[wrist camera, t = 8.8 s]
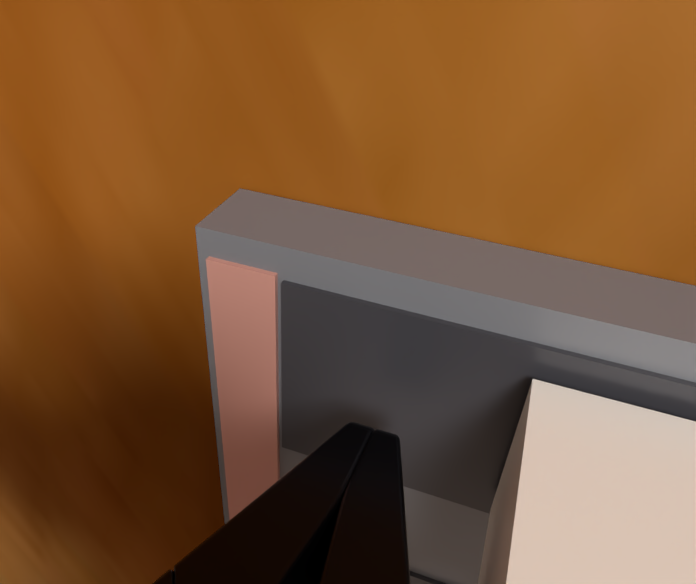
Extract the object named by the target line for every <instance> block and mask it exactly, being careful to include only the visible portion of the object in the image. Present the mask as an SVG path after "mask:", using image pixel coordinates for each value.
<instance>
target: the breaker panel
mask: <svg viewBox="0 0 696 584" xmlns="http://www.w3.org/2000/svg"><path fill="white" fill-rule="evenodd" d="M195 229H196V239H197V249H198V259H199V269H200V279H201V289H202V300H203V310H204V320H205V330H206V340H207V350H208V360H209V370H210V380H211V390H212V400H213V410H214V420H215V430H216V440H217V450H218V461H219V471H220V481H221V491H222V501H223V511H224V521H225V524H226V523H227V522H228V521H229V520H231V519H232V518H233V517H234V516H235V515H237V514H238V513H239V512H240V511H242V510H243V509H244V508H245V507H246V506H248V505H249V504H250V503H251V502H252V501H254V500H255V499H256V498H257V497H259V496H260V495H261V494H262V493H263V492H265V491H266V490H267V489H268V488H269V487H271V486H272V485H273V484H274V483H276V482H277V481H278V480H279V479H280V478H282V477H283V476H284V475H285V474H286V473H288V472H289V471H290V470H291V469H293V468H294V467H295V466H296V465H297V464H299V463H300V462H301V461H302V460H303V459H305V458H306V457H307V456H308V455H310V454H311V453H312V452H313V451H314V450H316V449H317V448H318V447H319V446H320V445H322V444H323V443H324V442H325V441H327V440H328V439H329V438H330V437H331V436H333V435H334V434H335V433H336V432H338V431H339V430H340V429H341V428H342V427H344V426H345V425H346V424H347V423H350V422H355V423H359V424H362V425H365V426H369V427H372V428H373V429H374V430H376V429H379V430H382V431H386V432H389V433H393V434H396V435H398V436H399V438H400V447H401V460H402V474H403V488H404V502H405V515H406V529H407V543H408V557H409V570H410V584H478V580H479V574H480V569H481V563H482V557H483V551H484V545H485V539H486V533H487V527H488V522H489V516H490V510H491V506H492V503H493V500H494V497H495V494H496V491H497V488H498V484H499V481H500V478H501V475H502V472H503V469H504V466H505V463H506V460H507V457H508V453H509V450H510V447H511V444H512V441H513V438H514V435H515V432H516V429H517V426H518V422H519V419H520V416H521V413H522V410H523V407H524V404H525V401H526V398H527V395H528V391H529V388H530V385H531V382H532V379H536V380H540V381H543V382H547V383H551V384H555V385H559V386H562V387H566V388H570V389H574V390H578V391H581V392H585V393H589V394H593V395H597V396H600V397H604V398H608V399H612V400H616V401H619V402H623V403H627V404H631V405H635V406H638V407H642V408H646V409H650V410H654V411H657V412H661V413H665V414H669V415H673V416H676V417H680V418H684V419H688V420H692V421H695V422H696V286H694V285H689V284H684V283H680V282H675V281H670V280H666V279H661V278H656V277H652V276H647V275H642V274H638V273H633V272H628V271H624V270H619V269H614V268H610V267H605V266H600V265H596V264H591V263H586V262H582V261H577V260H572V259H568V258H563V257H558V256H553V255H549V254H544V253H539V252H535V251H530V250H525V249H521V248H516V247H511V246H507V245H502V244H497V243H493V242H488V241H483V240H479V239H474V238H469V237H465V236H460V235H455V234H451V233H446V232H441V231H437V230H432V229H427V228H423V227H418V226H413V225H409V224H404V223H399V222H395V221H390V220H385V219H381V218H376V217H371V216H367V215H362V214H357V213H352V212H348V211H343V210H338V209H334V208H329V207H324V206H320V205H315V204H310V203H306V202H301V201H296V200H292V199H287V198H282V197H278V196H273V195H268V194H264V193H259V192H254V191H250V190H245V189H239V190H238V191H236V192H235V193H234V194H233V195H232V196H230V197H229V198H228V199H227V200H226V201H225V202H223V203H222V204H221V205H220V206H219V207H217V208H216V209H215V210H214V211H213V212H211V213H210V214H209V215H208V216H207V217H206V218H204V219H203V220H202V221H201V222H200V223H198V224H197V225H196V226H195Z"/></svg>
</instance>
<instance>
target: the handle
mask: <svg viewBox="0 0 696 584" xmlns="http://www.w3.org/2000/svg"><path fill="white" fill-rule="evenodd" d="M478 584H696V422H695V421H692V420H688V419H684V418H680V417H676V416H673V415H669V414H665V413H661V412H657V411H654V410H650V409H646V408H642V407H638V406H635V405H631V404H627V403H623V402H619V401H616V400H612V399H608V398H604V397H600V396H597V395H593V394H589V393H585V392H581V391H578V390H574V389H570V388H566V387H562V386H559V385H555V384H551V383H547V382H543V381H540V380H536V379H532V382H531V385H530V388H529V391H528V395H527V398H526V401H525V404H524V407H523V410H522V413H521V416H520V419H519V422H518V426H517V429H516V432H515V435H514V438H513V441H512V444H511V447H510V450H509V453H508V457H507V460H506V463H505V466H504V469H503V472H502V475H501V478H500V481H499V484H498V488H497V491H496V494H495V497H494V500H493V503H492V506H491V510H490V516H489V522H488V527H487V533H486V539H485V545H484V551H483V557H482V563H481V569H480V574H479V580H478Z"/></svg>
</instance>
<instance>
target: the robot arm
mask: <svg viewBox="0 0 696 584" xmlns="http://www.w3.org/2000/svg"><path fill="white" fill-rule="evenodd" d="M153 584H410V570H409V557H408V543H407V529H406V515H405V502H404V488H403V474H402V460H401V447H400V438H399V436H398V435H396V434H393V433H389V432H386V431H382V430H379V429H376V430H374V429H373V428H372V427H369V426H365V425H362V424H359V423H355V422H350V423H347V424H346V425H345V426H344V427H342V428H341V429H340V430H339V431H338V432H336V433H335V434H334V435H333V436H331V437H330V438H329V439H328V440H327V441H325V442H324V443H323V444H322V445H320V446H319V447H318V448H317V449H316V450H314V451H313V452H312V453H311V454H310V455H308V456H307V457H306V458H305V459H303V460H302V461H301V462H300V463H299V464H297V465H296V466H295V467H294V468H293V469H291V470H290V471H289V472H288V473H286V474H285V475H284V476H283V477H282V478H280V479H279V480H278V481H277V482H276V483H274V484H273V485H272V486H271V487H269V488H268V489H267V490H266V491H265V492H263V493H262V494H261V495H260V496H259V497H257V498H256V499H255V500H254V501H252V502H251V503H250V504H249V505H248V506H246V507H245V508H244V509H243V510H242V511H240V512H239V513H238V514H237V515H235V516H234V517H233V518H232V519H231V520H229V521H228V522H227V523H226V524H225V525H223V526H222V527H221V528H220V529H218V530H217V531H216V532H215V533H214V534H212V535H211V536H210V537H209V538H207V539H206V540H205V541H204V542H203V543H201V544H200V545H199V546H198V547H197V548H195V549H194V550H193V551H192V552H190V553H189V554H188V555H187V556H186V557H184V558H183V559H182V560H181V561H180V562H178V563H177V564H176V565H175V566H174V571H173V570H168V571H167V572H166V573H165V574H163V575H162V576H161V577H160V578H159V579H157V580H156V581H155V582H154V583H153Z"/></svg>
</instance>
